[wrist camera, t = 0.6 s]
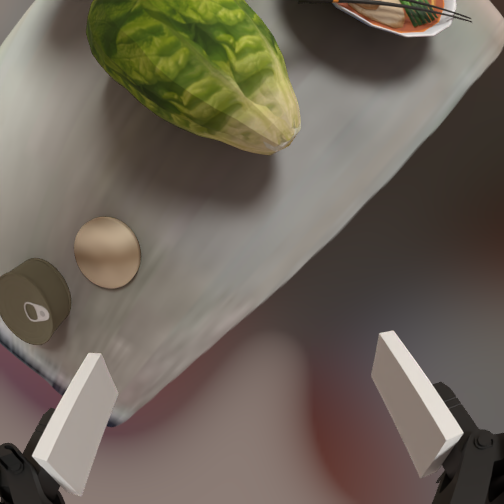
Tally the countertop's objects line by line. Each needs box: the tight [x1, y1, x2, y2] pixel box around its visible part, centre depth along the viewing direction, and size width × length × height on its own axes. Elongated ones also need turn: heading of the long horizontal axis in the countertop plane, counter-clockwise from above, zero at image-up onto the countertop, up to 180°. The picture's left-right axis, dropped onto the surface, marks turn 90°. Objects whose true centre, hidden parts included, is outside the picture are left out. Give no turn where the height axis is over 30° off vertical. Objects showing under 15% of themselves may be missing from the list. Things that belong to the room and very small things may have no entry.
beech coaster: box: [74, 216, 141, 288], centre depth 38 cm, size 10×10×1 cm
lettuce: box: [86, 0, 301, 155], centre depth 25 cm, size 15×27×16 cm, turn 44°
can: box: [0, 258, 71, 345], centre depth 37 cm, size 12×12×7 cm
